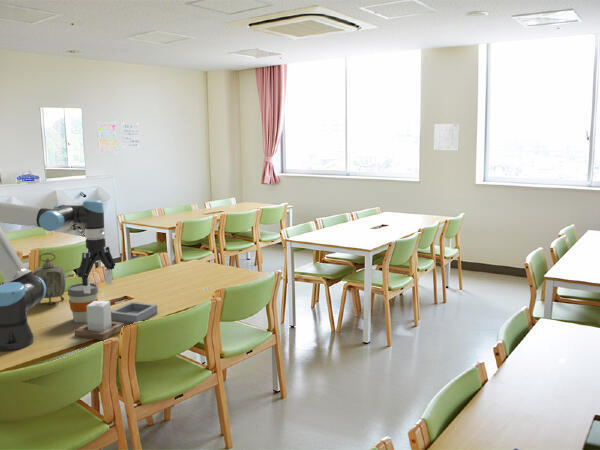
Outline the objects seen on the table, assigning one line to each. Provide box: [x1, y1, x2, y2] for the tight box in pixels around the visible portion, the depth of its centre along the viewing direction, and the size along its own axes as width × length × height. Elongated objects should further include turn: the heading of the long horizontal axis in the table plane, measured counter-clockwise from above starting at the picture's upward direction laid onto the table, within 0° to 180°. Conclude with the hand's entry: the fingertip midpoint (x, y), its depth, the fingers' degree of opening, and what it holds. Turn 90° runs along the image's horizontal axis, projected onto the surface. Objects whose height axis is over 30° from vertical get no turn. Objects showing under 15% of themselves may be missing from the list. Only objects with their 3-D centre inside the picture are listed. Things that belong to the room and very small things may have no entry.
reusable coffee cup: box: [67, 282, 99, 324], centre depth 240 cm, size 13×13×15 cm
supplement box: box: [86, 300, 112, 332], centre depth 225 cm, size 7×7×13 cm
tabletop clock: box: [32, 252, 67, 305], centre depth 261 cm, size 14×9×25 cm, turn 110°
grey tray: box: [111, 301, 158, 325], centre depth 245 cm, size 16×14×4 cm
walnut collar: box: [73, 321, 125, 341], centre depth 226 cm, size 14×14×2 cm
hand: (98, 288), depth 223 cm, fingers open, 13 cm apart
